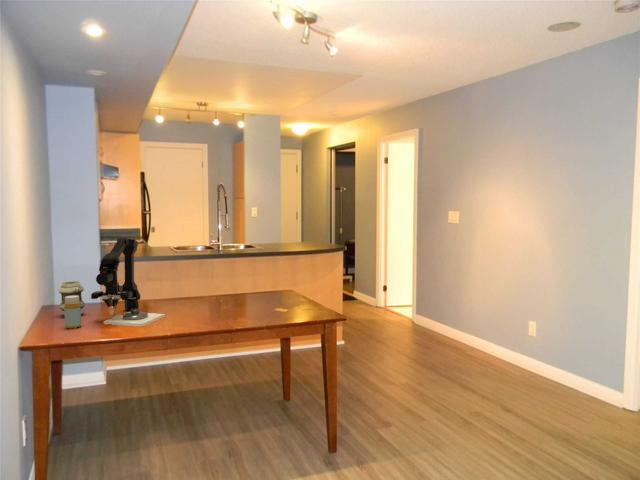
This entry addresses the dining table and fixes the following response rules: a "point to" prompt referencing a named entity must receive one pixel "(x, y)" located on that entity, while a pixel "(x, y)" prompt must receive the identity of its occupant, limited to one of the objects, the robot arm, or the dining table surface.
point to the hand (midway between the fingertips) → (112, 311)
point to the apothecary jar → (71, 292)
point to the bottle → (72, 311)
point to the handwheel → (128, 314)
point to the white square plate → (135, 320)
